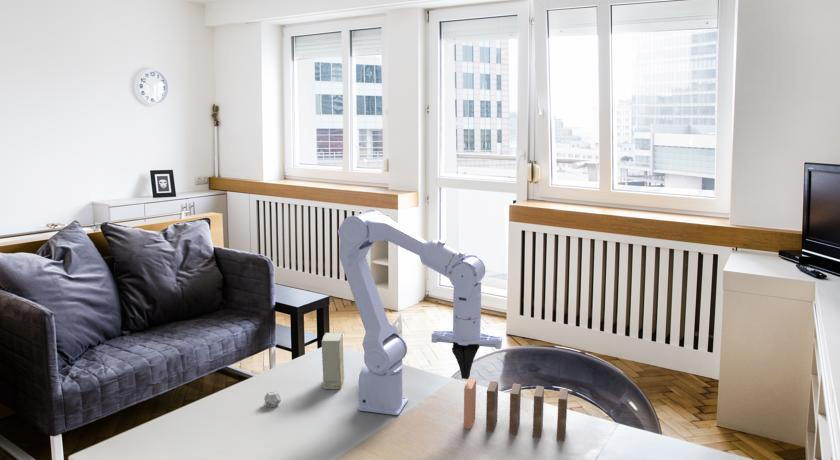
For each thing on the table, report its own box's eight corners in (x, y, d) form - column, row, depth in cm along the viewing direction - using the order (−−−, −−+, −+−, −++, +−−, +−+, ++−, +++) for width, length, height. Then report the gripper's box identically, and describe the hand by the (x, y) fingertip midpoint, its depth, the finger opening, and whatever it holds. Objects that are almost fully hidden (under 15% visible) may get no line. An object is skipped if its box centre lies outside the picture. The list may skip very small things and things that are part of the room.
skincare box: (341, 389, 158) (340, 341, 156) (322, 389, 158) (321, 341, 156) (344, 378, 164) (343, 331, 162) (326, 378, 164) (325, 331, 162)
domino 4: (556, 440, 135) (558, 398, 133) (558, 428, 140) (560, 388, 138) (564, 441, 134) (566, 399, 133) (565, 429, 139) (567, 389, 137)
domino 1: (486, 431, 138) (486, 390, 137) (489, 420, 143) (490, 380, 141) (493, 432, 138) (494, 391, 136) (497, 421, 143) (498, 381, 141)
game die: (272, 410, 148) (271, 397, 147) (261, 405, 150) (260, 393, 149) (284, 404, 151) (283, 392, 150) (273, 400, 153) (272, 388, 152)
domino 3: (532, 437, 136) (534, 395, 134) (534, 425, 141) (536, 385, 139) (540, 438, 136) (542, 396, 134) (542, 426, 140) (544, 386, 139)
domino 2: (509, 434, 137) (510, 393, 135) (512, 422, 142) (513, 383, 140) (516, 435, 137) (518, 394, 135) (519, 423, 142) (521, 384, 140)
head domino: (463, 428, 140) (464, 387, 138) (468, 417, 144) (468, 378, 143) (471, 429, 139) (471, 388, 138) (475, 418, 144) (476, 379, 142)
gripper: (428, 318, 135) (427, 380, 138) (499, 324, 132) (497, 388, 134) (436, 307, 142) (435, 367, 145) (504, 313, 139) (502, 375, 141)
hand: (465, 377), depth 140 cm, fingers closed
